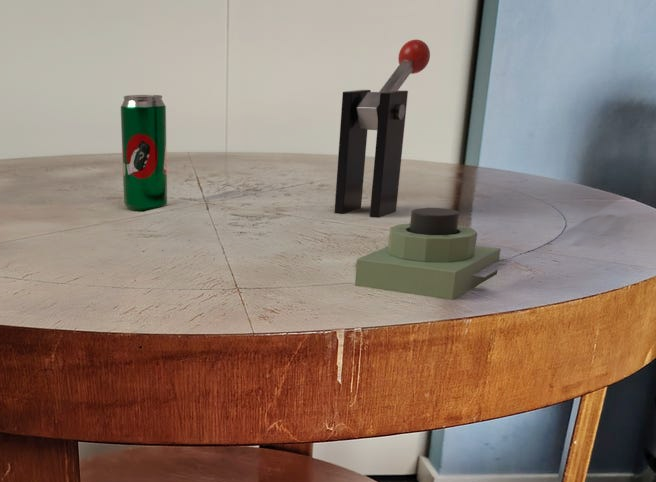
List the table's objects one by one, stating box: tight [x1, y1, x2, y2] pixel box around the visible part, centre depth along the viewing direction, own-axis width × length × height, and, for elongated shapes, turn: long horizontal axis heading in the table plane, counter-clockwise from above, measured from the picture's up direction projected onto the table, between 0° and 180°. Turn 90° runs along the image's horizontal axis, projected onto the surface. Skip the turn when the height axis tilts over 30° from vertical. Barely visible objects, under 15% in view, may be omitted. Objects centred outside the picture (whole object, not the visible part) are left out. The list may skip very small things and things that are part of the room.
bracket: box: [334, 89, 409, 219], centre depth 92 cm, size 9×11×13 cm
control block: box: [354, 222, 501, 301], centre depth 72 cm, size 8×10×4 cm
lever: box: [357, 39, 431, 131], centre depth 92 cm, size 13×3×3 cm, turn 145°
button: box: [409, 207, 460, 235], centre depth 70 cm, size 4×4×2 cm
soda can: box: [120, 94, 168, 212], centre depth 103 cm, size 5×5×12 cm
